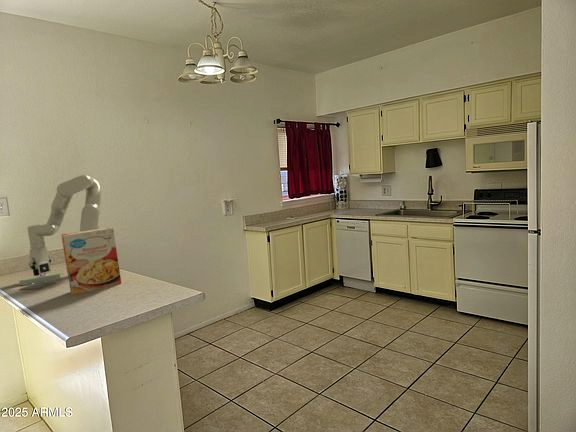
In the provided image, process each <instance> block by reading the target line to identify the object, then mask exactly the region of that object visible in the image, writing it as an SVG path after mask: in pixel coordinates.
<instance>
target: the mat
mask: <svg viewBox="0 0 576 432" xmlns="http://www.w3.org/2000/svg"><path fill="white" fill-rule="evenodd" d="M52 284H56V282H55V281H46V282H38V283H34V284H29V285H27V286H26V285H25V286H24V287H20V288H19V289H18V290H19V291H30V290H31V291H32V290H33V291H34V290H40V289H43V288H45V287H49V286H50V285H52Z"/></svg>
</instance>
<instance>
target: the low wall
mask: <svg viewBox="0 0 576 432" xmlns="http://www.w3.org/2000/svg"><path fill="white" fill-rule="evenodd" d="M48 275H49V274H48ZM42 276H43V275H42ZM36 277H37V278H36ZM36 277H33V278H27V279H21V280H19V285H20V287H22V286H21V285H23V286H26V285H27V284H29V285H31V284H32V283H38V282H45V281H46V282H53V281H57V280H61V274H60V273H56V274H50V275H49V276H43V277H39V276H36ZM27 286H28V285H27Z"/></svg>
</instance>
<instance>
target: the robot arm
mask: <svg viewBox="0 0 576 432" xmlns="http://www.w3.org/2000/svg"><path fill="white" fill-rule="evenodd" d="M100 185H101V184H99V182H98V181H97V180H96V179H95V178H94V177H92V176H90V175H87V174H81V175H78V176H76V177H73V178H71V179H69V180H66V181H64V182H61V183H59V184H58V185H57V187H56V193H55V196H54V198H53V201H52V203H51V206H50V209H51V210H50V215H49V217H48V220H47V221H46V223H45V224H42V225H41V224H33V225H28V226H27V228H26V229H27V235H28V239H29V245H30V249H29V262H28V266H29V269H31V270H32V273H33V277H35V276H36V277H39V276H40V274H39V271H38V269H37V268H38V264H40V263H43V262H49V264H50V265H51V263H52V258H53V257H52V256H50V255H49V252H48V248H47V246H46V241H45V237H51V236H54V235H55V234H57V233H58V231H59V230H60V227H61V225H62V223H63V221H64V217H65V215H66V214H67V211H68V208H69V205H70V203H71V200H72V199H73V197H74V195H75V194H77V193H80V192H81V191H84V190H85V201H84V202H85V203H84V206H83V207H82V210H81V213H80V214H81V216H80V225H79V232H82V231H88V230H95V229H100V227H99V217H100V214H101V200H102V188H101V186H100ZM50 270H51V268H50ZM51 271H52V270H51Z"/></svg>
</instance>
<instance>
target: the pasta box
mask: <svg viewBox="0 0 576 432" xmlns="http://www.w3.org/2000/svg"><path fill="white" fill-rule="evenodd" d="M61 242H62V248H63V253H64V260H65V266H66V271H67V277H68V278H67V279H68V282H69V283H68V285H69V290H70V293H71V295H72V296H75V295H79V294H84V293H88V292H92V291H96V290H100V289H106V288H109V287H114V286H117V285H122V279H121V278H122V277H121V272H120V265H119V264H120V263H119V259H118V251H117V245H116V244H117V243H116V237H115V232H114V227H110V226H109V227H103V228H102V227H101V228H99V229H95V230H88V231H82V232H80V231H76V232H70V233H64V234H61Z"/></svg>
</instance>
